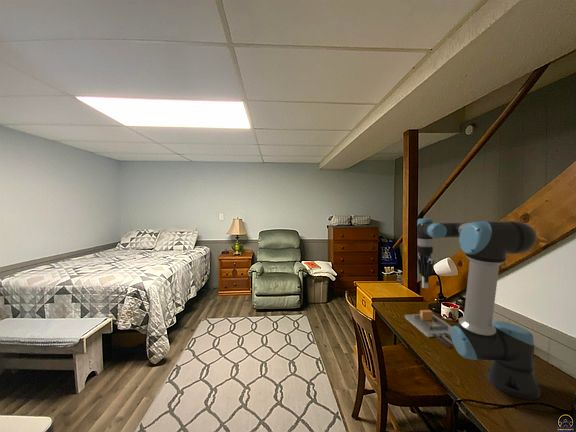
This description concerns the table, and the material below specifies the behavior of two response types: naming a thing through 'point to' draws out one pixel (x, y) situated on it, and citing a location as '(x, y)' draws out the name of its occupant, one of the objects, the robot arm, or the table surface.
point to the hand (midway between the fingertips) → (425, 287)
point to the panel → (430, 325)
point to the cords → (445, 339)
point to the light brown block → (426, 315)
